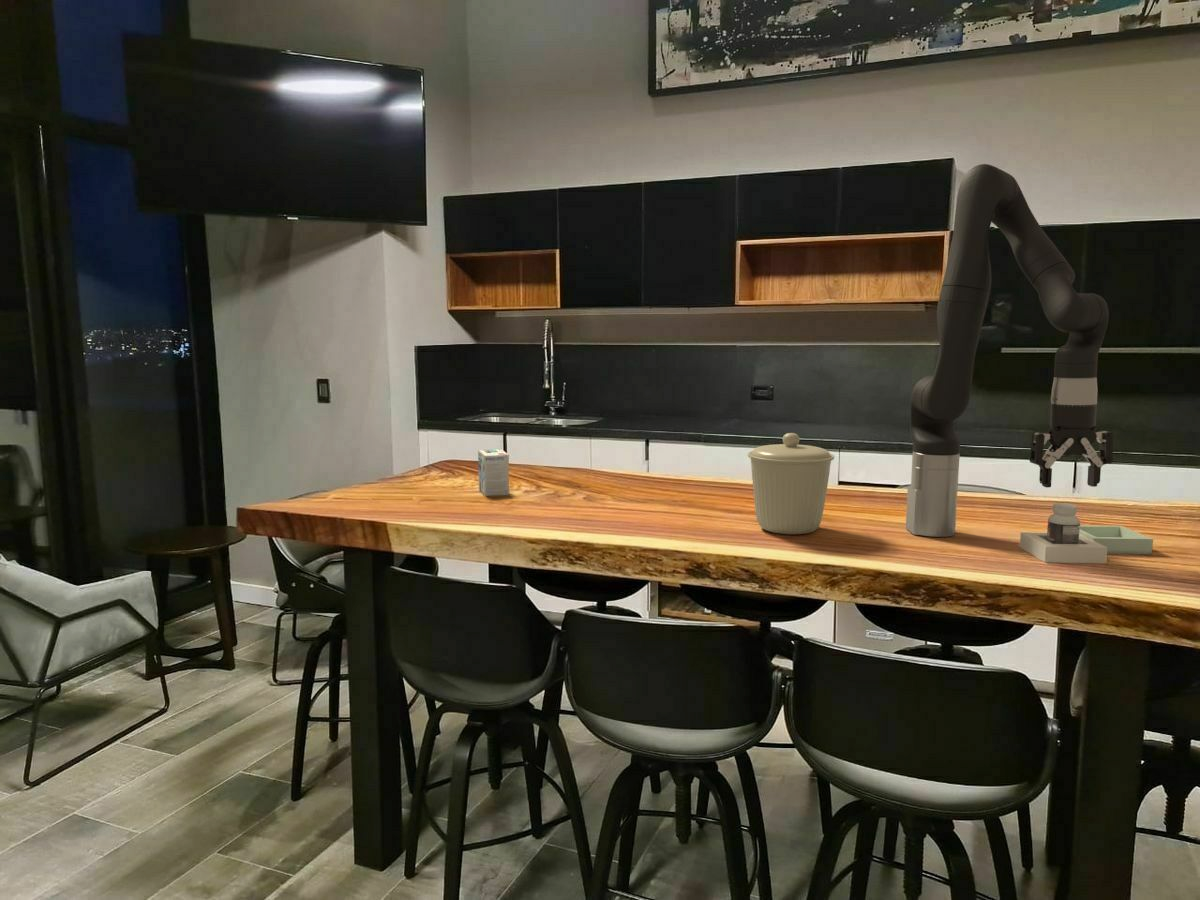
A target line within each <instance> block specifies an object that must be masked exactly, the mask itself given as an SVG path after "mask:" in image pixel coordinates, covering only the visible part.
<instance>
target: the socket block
mask: <svg viewBox="0 0 1200 900" xmlns="http://www.w3.org/2000/svg"><path fill="white" fill-rule="evenodd" d="M1019 548H1020V549H1022V550H1023V551H1026V552H1027V553H1028V554H1030V555H1032V556H1033V557H1035V558H1037V559H1038V560H1040V561H1042V562H1043V563H1059V564H1060V563H1065V564H1066V563H1067V564H1068V563H1069V564H1070V563H1072V564H1107V559H1108V556H1107V555H1108V554H1107V547H1105V546H1103V545H1101V544H1099V543H1097V542H1095V541H1093V540H1091V539H1089V538H1087V537H1085V536H1083V535H1081V534H1079V542H1078V544H1052V543H1050V542H1048V541H1047V532H1020V539H1019Z"/></svg>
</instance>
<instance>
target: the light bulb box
mask: <svg viewBox="0 0 1200 900" xmlns="http://www.w3.org/2000/svg"><path fill="white" fill-rule="evenodd" d="M477 454H478V455H477V457H478V459H477V460H478V461H477V462H478V489H479V491H480V492H481V493H482V494H483V495H484V496H485V497H487V496H488V497H489V496H491V497H492V496H509V495H510V467H509V466H510V464H509V463H510V460H509V458H510V455H509V453H507V452H506V451H505V450H503V449H501V448H499V449H482V450H481V449H479V450H478V451H477Z"/></svg>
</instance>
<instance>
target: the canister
mask: <svg viewBox="0 0 1200 900" xmlns="http://www.w3.org/2000/svg"><path fill="white" fill-rule="evenodd" d="M799 443H800V436H799V435H798V434H797V433H794V432H788V433H785V434H784V435H783V436H782V443H781V444H780V443H779V444H765V445H760V446H757V447H755V448H754V449H753V450H751V451H749V452H747V457H748V458H749V459H750V464H751V465H750V466H751V467H750V468H751V478H752V479H751V480H752V490H753V499H754V500H753V501H754V511H755V517H756V522H757V524H758V525H759V526H760V528H761V529H763V530H764V531H768V532H770V533H774V534H783V535H803V534H805V535H806V534H810V533H812V532H815V531H816V530H818V528H819V527H820V525H821V524H822V523H821V522H822V521H823V515H824V514H823V513H824V510H825V504H826V498H827V491H828V484H829V479H830V478H829V477H830V471H831V465H832V464H831V463H832V461H833V460H835V455H834V454H832V453H830V452H829V450H827V449H825V448H822V447H819V446H814V445H807V444H799Z"/></svg>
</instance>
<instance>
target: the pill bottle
mask: <svg viewBox="0 0 1200 900" xmlns="http://www.w3.org/2000/svg"><path fill="white" fill-rule="evenodd" d="M1077 510H1078V506H1077V505H1075V504H1071V503H1065V502H1064V503H1063V502H1061V503H1060V502H1057V503H1053V505H1052V513H1053V514H1051V515H1049V516H1048V518H1047V527H1046V528H1047V530H1046V533H1047V541H1048V542H1050V543H1052V544H1078V542H1079V530H1080V525H1081V520H1080V518H1079V517H1078V516H1076V515H1077V512H1078V511H1077Z"/></svg>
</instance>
